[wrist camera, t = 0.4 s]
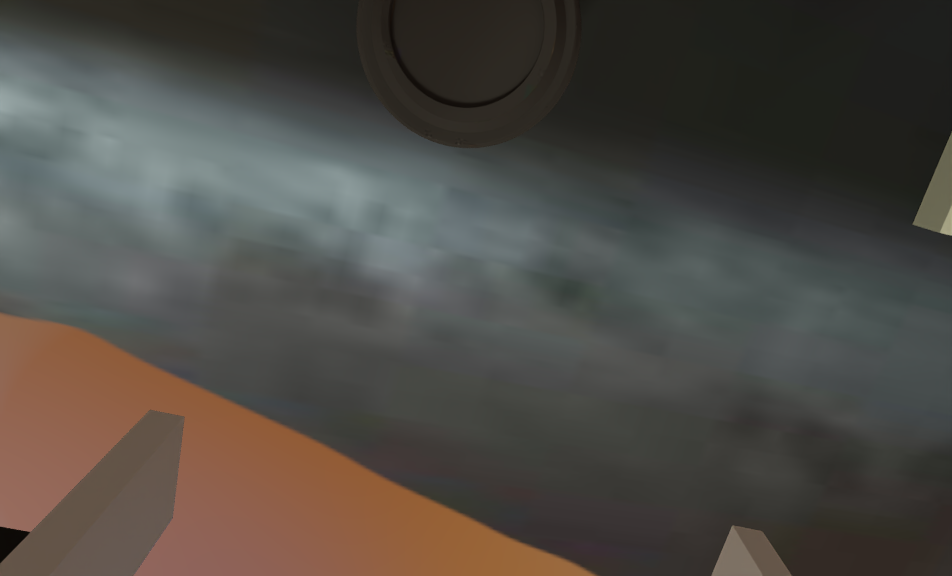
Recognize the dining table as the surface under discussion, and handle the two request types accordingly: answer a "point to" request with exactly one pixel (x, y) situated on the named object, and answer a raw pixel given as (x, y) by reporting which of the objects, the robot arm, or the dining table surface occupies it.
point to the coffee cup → (469, 64)
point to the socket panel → (938, 197)
